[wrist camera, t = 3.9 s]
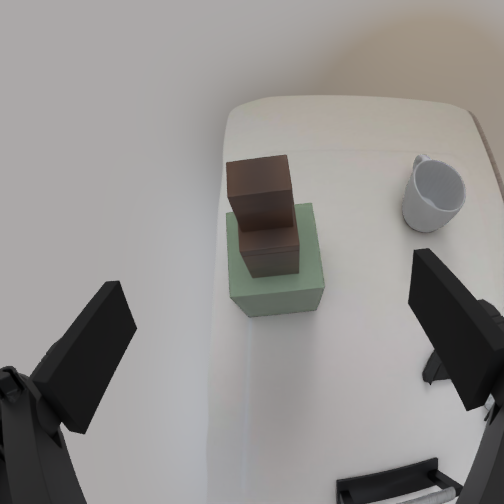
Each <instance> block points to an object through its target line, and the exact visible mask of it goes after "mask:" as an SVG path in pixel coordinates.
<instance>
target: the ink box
mask: <svg viewBox="0 0 504 504" xmlns="http://www.w3.org/2000/svg"><path fill="white" fill-rule="evenodd" d="M494 401H495V400H494V398H493V397H492V395H491V394H490V395H489V397H488V399H487V401H486V403H485V407H486V408H487V410H488V411H489V410H490V408H491V407H492V405H493V403H494Z"/></svg>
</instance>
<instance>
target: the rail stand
mask: <svg viewBox="0 0 504 504" xmlns="http://www.w3.org/2000/svg"><path fill="white" fill-rule="evenodd" d="M435 485H437V486H438V487H440V488H441V489H442V490H441V491H438V492H435V493H432V494H429V495H426V496H423V497H419V498H416V499H413V500H409V501H406V502H402V503H398V504H443V503H445V502H448V501H451V500H453V499H455V497H457V496H459V495H460V493H461V491H462V489H463V486H462V485H460V484H459V483H457V482H456V481H454V480H453V479H451V478H449V477H448V476H446V475H445V474H443V473H442V472H440V471H439V470H438V458H433V459H429V460H426V461H423V462H419V463H416V464H412V465H408V466H405V467H401V468H397V469H392V470H388V471H384V472H379V473H375V474H370V475H365V476H359V477H354V478H348V479H341V480H337V504H367V503H372V502H376V501H381V500H385V499H389V498H393V497H397V496H401V495H405V494H409V493H412V492H416V491H419V490H422V489H426V488H429V487H432V486H435Z"/></svg>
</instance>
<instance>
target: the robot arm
mask: <svg viewBox="0 0 504 504" xmlns="http://www.w3.org/2000/svg"><path fill="white" fill-rule="evenodd" d="M408 304H409V306H410V307H411V309H412V311H413V312H414V314H415V316H416V317H417V319H418V321H419V323H420V324H421V326H422V328H423V329H424V331H425V333H426V335H427V336H428V338H429V340H430V342H431V343H432V345H433V347H434V349H435V350H436V352H437V354H438V356H439V358H440V360H441V361H442V363H443V365H444V367H445V369H446V371H447V373H448V375H449V377H450V378H451V380H452V382H453V384H454V386H455V388H456V390H457V392H458V394H459V396H460V398H461V400H462V402H463V404H464V406H465V409H466V411H469V410H472V409H475V408H478V407H480V406H483V405H485V403H486V401H487V399H488V397H489V395H490V393H491V395H492V397H493V398H494V400H495V401H494V403H493V405H492V407H491V408H490V410H489V412H488V414H487V415H486V417H485V419H484V421H487V419H488V421H487V424H486V427H485V431H484V434H483V437H482V440H481V443H480V446H479V449H478V451H477V454H476V457H475V460H474V462H473V465H472V467H471V470H470V472H469V475H468V477H467V479H466V482H465V484H464V486H463V489H462V491H461V493H460V495H459V497H458V499H457V502H456V504H504V317H503V316H501V315H500V313H499V311H498V310H497V309H496V308H495V307H494V306H493V305H492V304H490V303H488V302H487V301H485V300H484V299H482V300H476V298H475V297H474V296H473V295H472V294H471V293H470V292H469V290H468V289H467V288H466V287H465V286H464V285H463V284H462V283H461V282H460V280H459V279H458V278H457V277H456V276H455V275H454V274H453V273H452V272H451V271H450V270H449V269H448V268H447V266H446V265H445V264H444V263H443V262H442V261H441V260H440V259H439V258H438V257H437V256H436V255H435V254H434V253H433V252H432V251H431V250H430V249H429V248H426V249H418V250H414V253H413V264H412V275H411V284H410V292H409V300H408ZM136 330H137V327H136V325H135V322H134V319H133V317H132V314H131V311H130V309H129V307H128V304H127V301H126V298H125V295H124V293H123V290H122V287H121V284H120V281H108V282H105V283H104V284H103V286H102V287H101V288H100V289H99V291H98V292H97V293H96V294H95V295H94V297H93V298H92V299H91V300H90V302H89V303H88V304H87V305H86V307H85V308H84V309H83V311H82V312H81V313H80V315H79V316H78V317H77V318H76V320H75V321H74V322H73V323H72V325H71V326H70V328H69V329H68V330H67V331H66V333H65V334H64V335H63V337H62V338H60V339H59V340H58V341H57V342H56V343H54V344H53V345H52V346H51V347H50V349H49V350H48V351H47V353H46V355H45V356H44V357H43V358H42V360H41V362H40V363H39V364H38V365H37V367H36V368H35V370H34V371H33V372H32V374H31V375H30V377H29V378H28V380H27V381H26V383H25V382H24V381H23V379H22V378H21V376H20V375H19V373H18V372H17V370H16V369H15V368H14V367H13V366H6V367H3V368H1V369H0V504H87V502H86V500H85V498H84V495H83V493H82V490H81V487H80V485H79V482H78V479H77V477H76V475H75V471H74V468H73V465H72V462H71V459H70V456H69V453H68V450H67V446H66V443H65V440H64V436H63V433H62V431H61V430H60V429H59V426H60V424H61V422H63V424H64V425H65V426H66V427H67V429H68V430H69V431H71V432H76V433H80V434H85V433H86V431H87V429H88V426H89V424H90V422H91V420H92V418H93V416H94V414H95V411H96V409H97V407H98V405H99V403H100V401H101V399H102V397H103V395H104V393H105V391H106V389H107V386H108V384H109V382H110V380H111V378H112V376H113V374H114V372H115V370H116V368H117V366H118V364H119V362H120V360H121V359H122V357H123V355H124V353H125V350H126V349H127V347H128V345H129V343H130V341H131V339H132V337H133V335H134V333H135V332H136Z"/></svg>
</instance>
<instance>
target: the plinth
mask: <svg viewBox="0 0 504 504" xmlns="http://www.w3.org/2000/svg"><path fill="white" fill-rule="evenodd" d="M294 207H295V214H296V221H297V228H298V235H299V243H300V258H299V273H298V274H289V275H280V276H270V277H261V278H252V277H251V275H250V273H249V271H248V269H247V267H246V264H245V262H244V260H243V258H242V256H241V254H240V252H239V240H238V222H237V220H236V217H235V215H234V212H229V213H226V226H227V249H228V270H229V290H230V298H231V299H232V300H233V301H234V302H235V303H236V304H237V305H238V306H239V307H240V309H241V310H242V311H243V312H244V313H245V314H246V315H247V316H248V317H257V316H268V315H278V314H288V313H297V312H306V311H314V310H317V307H318V305H319V302H320V299H321V296H322V293H323V291H324V288H325V285H324V278H323V270H322V263H321V257H320V250H319V243H318V237H317V231H316V225H315V218H314V213H313V207H312V203H305V204H296V205H294Z"/></svg>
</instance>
